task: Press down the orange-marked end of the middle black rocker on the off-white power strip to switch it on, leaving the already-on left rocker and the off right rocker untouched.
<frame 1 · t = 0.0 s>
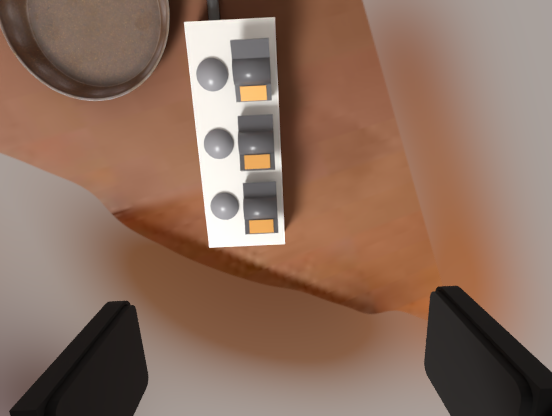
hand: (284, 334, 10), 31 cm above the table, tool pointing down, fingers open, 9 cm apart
power strip: (242, 140, 39), on the table
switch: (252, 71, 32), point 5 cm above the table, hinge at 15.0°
plant saucer: (98, 18, 36), on the table
switch middle: (256, 143, 34), point 6 cm above the table, hinge at -15.0°
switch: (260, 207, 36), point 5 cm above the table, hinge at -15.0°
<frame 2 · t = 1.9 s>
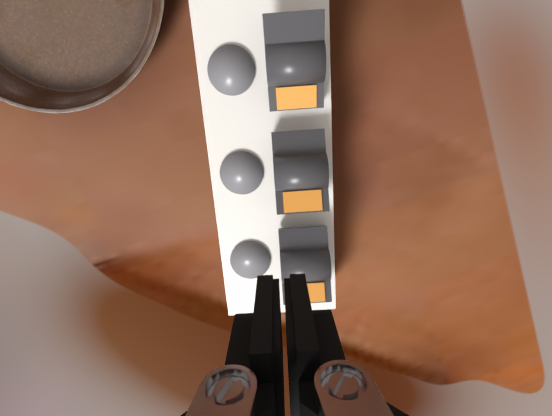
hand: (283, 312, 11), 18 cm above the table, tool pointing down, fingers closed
power strip: (271, 162, 28), on the table
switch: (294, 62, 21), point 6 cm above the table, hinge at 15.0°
switch middle: (300, 172, 23), point 6 cm above the table, hinge at -15.0°
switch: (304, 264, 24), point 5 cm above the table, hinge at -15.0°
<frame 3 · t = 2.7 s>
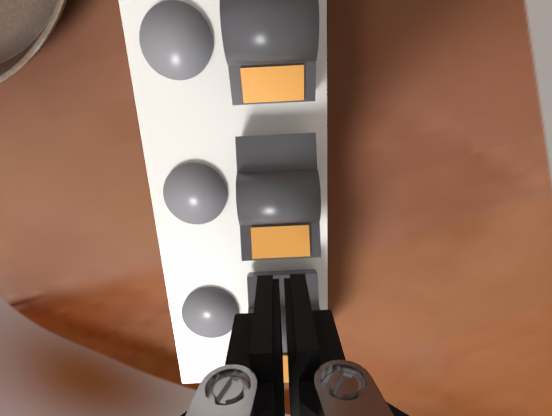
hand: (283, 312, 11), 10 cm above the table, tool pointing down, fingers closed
power strip: (245, 176, 20), on the table
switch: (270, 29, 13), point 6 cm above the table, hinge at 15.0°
switch middle: (278, 197, 15), point 6 cm above the table, hinge at -15.0°
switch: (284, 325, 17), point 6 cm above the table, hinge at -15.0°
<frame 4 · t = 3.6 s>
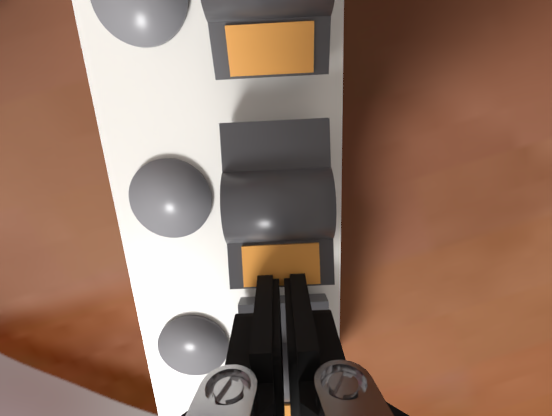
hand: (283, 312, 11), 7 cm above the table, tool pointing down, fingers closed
power strip: (238, 174, 17), on the table
switch middle: (278, 204, 11), point 6 cm above the table, hinge at -12.0°, touching gripper
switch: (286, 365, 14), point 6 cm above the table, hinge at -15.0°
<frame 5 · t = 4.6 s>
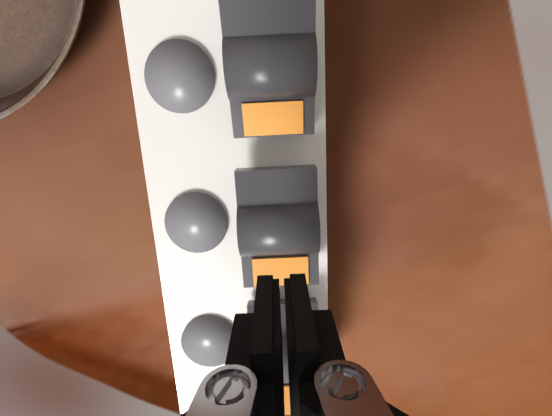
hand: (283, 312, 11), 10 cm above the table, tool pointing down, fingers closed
power strip: (246, 202, 21), on the table
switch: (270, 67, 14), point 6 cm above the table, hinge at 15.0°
switch middle: (278, 227, 15), point 6 cm above the table, hinge at 1.2°
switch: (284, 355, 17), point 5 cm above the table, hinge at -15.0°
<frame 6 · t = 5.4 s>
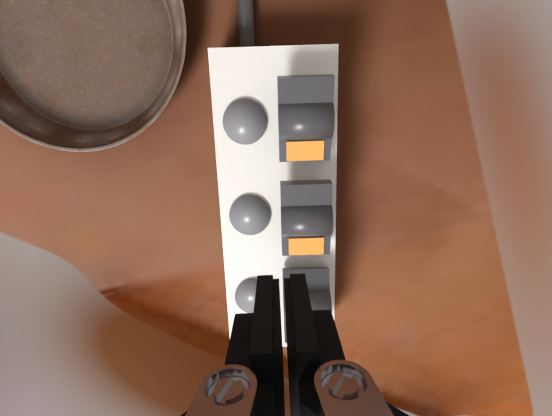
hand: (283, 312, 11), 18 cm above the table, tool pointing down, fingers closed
power strip: (277, 202, 29), on the table
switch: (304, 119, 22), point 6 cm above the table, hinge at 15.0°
plant saucer: (86, 37, 26), on the table
switch middle: (305, 218, 24), point 6 cm above the table, hinge at 8.3°
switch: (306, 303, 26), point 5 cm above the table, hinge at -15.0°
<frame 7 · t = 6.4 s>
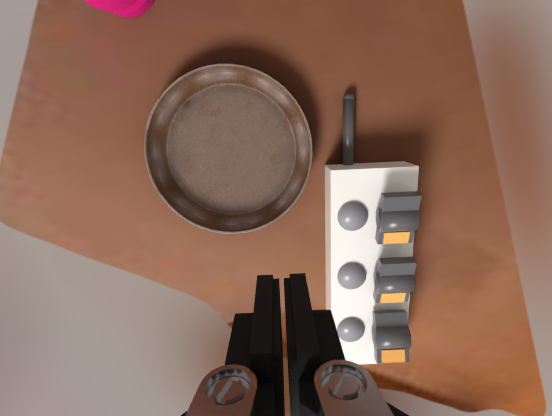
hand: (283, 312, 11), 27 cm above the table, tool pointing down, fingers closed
power strip: (361, 259, 40), on the table
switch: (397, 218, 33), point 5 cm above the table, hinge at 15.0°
plant saucer: (232, 151, 37), on the table
switch middle: (393, 280, 35), point 6 cm above the table, hinge at 15.5°
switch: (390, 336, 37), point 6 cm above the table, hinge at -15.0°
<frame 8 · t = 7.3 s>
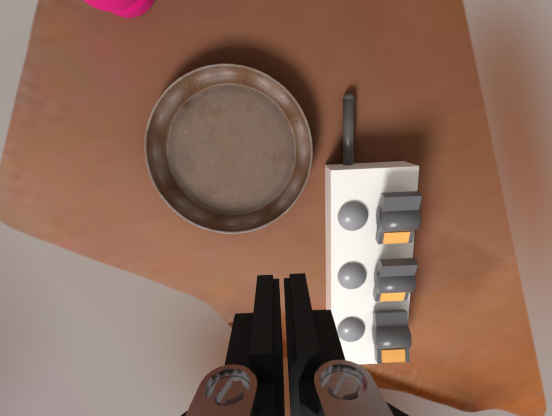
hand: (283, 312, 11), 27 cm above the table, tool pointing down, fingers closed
power strip: (362, 259, 40), on the table
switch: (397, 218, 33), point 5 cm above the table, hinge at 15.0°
plant saucer: (232, 151, 37), on the table
switch middle: (393, 280, 35), point 5 cm above the table, hinge at 20.7°
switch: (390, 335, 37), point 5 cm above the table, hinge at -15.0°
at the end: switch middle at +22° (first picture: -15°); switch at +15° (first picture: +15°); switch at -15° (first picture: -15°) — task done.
